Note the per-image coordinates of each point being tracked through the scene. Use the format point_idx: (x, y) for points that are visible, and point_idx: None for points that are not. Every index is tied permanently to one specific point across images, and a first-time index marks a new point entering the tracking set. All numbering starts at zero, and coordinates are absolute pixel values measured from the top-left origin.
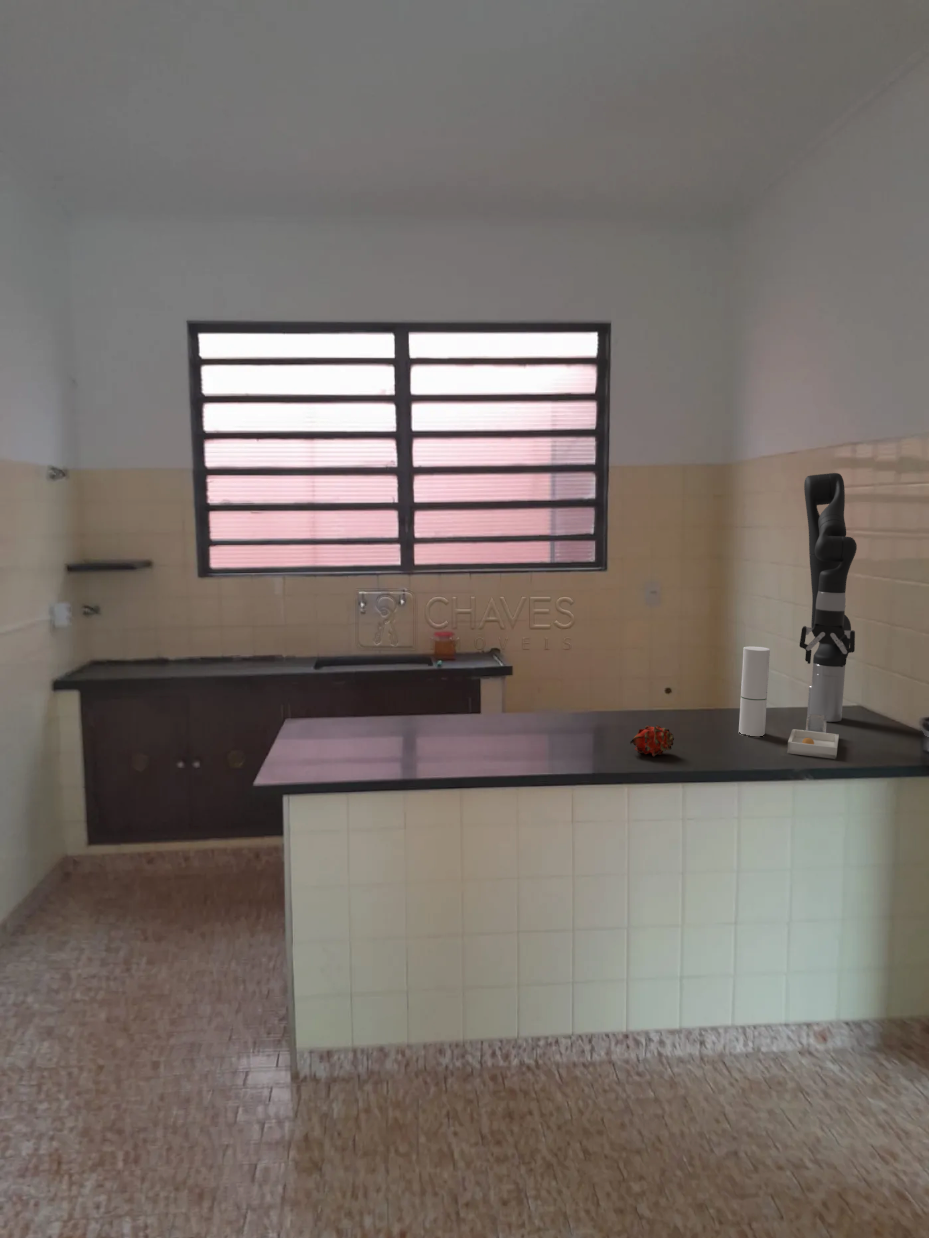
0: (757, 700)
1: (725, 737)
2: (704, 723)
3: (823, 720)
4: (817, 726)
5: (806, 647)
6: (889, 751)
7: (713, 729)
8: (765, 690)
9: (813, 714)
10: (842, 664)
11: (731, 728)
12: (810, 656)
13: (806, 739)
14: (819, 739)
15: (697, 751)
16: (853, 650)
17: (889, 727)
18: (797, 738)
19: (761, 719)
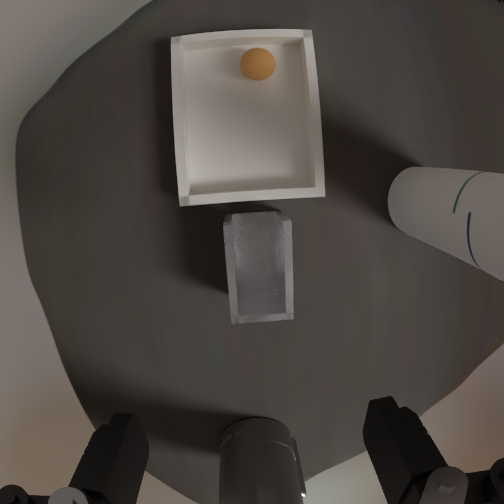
0: (473, 174)
1: (458, 134)
2: None
3: (232, 241)
4: (257, 298)
5: (467, 482)
6: (66, 214)
7: None
8: (480, 203)
9: (275, 314)
10: (114, 423)
11: None
12: (394, 439)
13: (262, 50)
14: (237, 189)
15: (460, 7)
16: (3, 496)
17: None
18: (300, 172)
19: (421, 181)
